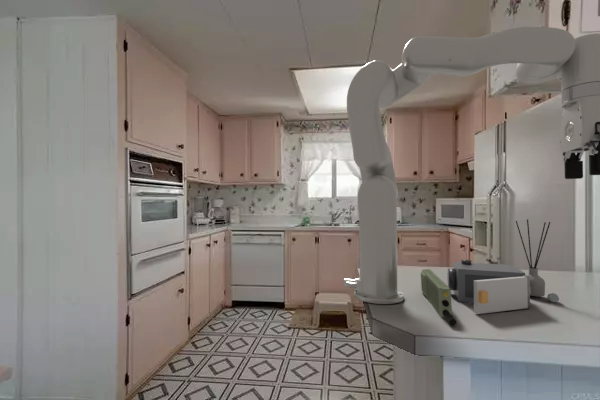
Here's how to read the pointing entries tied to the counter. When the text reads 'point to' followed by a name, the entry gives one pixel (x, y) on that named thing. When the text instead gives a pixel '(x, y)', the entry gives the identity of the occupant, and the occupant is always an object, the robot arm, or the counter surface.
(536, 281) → the reed diffuser
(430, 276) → the handheld radio
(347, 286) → the robot arm
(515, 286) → the side door
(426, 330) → the counter surface
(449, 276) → the camera housing
